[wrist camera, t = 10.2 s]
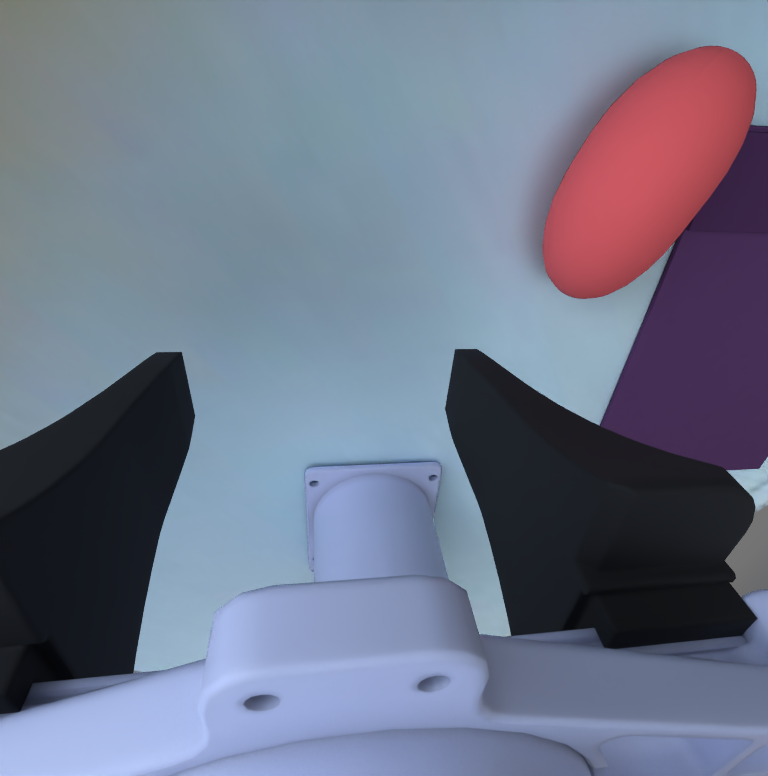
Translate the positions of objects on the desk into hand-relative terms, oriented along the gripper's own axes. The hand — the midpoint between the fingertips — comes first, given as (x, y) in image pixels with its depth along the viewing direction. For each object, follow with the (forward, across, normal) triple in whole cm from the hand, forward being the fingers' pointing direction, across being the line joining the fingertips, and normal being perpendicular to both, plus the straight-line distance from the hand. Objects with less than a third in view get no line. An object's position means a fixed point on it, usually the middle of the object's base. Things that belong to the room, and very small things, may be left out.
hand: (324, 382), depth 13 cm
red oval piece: (+10, -12, -4) cm, 16 cm away
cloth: (+9, -23, +4) cm, 25 cm away
